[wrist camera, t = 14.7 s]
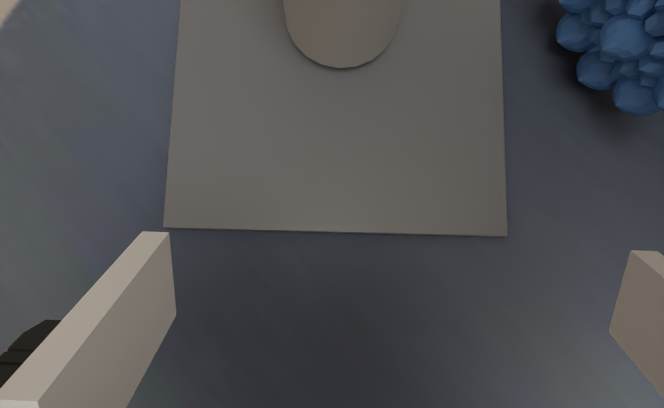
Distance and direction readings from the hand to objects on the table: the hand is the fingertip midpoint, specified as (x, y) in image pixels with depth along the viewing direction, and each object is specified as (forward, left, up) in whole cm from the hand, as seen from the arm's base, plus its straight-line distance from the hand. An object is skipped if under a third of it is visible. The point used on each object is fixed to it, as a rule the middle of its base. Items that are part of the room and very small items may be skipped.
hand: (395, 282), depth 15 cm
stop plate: (+1, -14, -18) cm, 23 cm away
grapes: (-17, -15, -18) cm, 29 cm away
